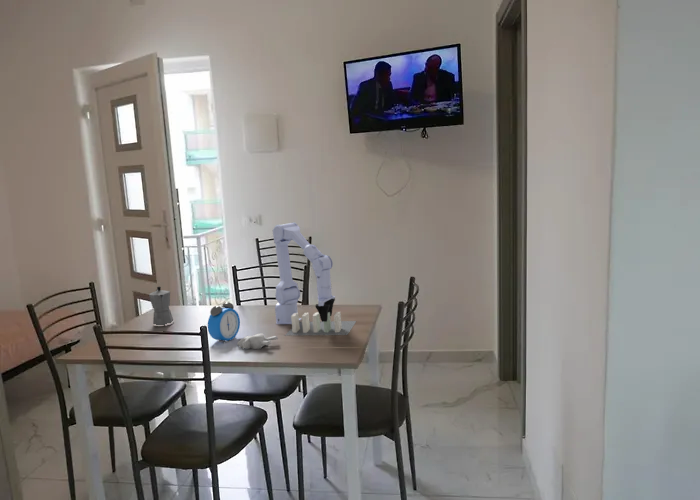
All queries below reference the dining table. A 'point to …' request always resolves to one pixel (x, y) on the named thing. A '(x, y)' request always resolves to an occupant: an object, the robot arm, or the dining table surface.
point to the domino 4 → (327, 324)
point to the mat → (344, 331)
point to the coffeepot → (161, 306)
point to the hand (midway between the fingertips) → (326, 318)
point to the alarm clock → (223, 322)
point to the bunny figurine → (255, 341)
